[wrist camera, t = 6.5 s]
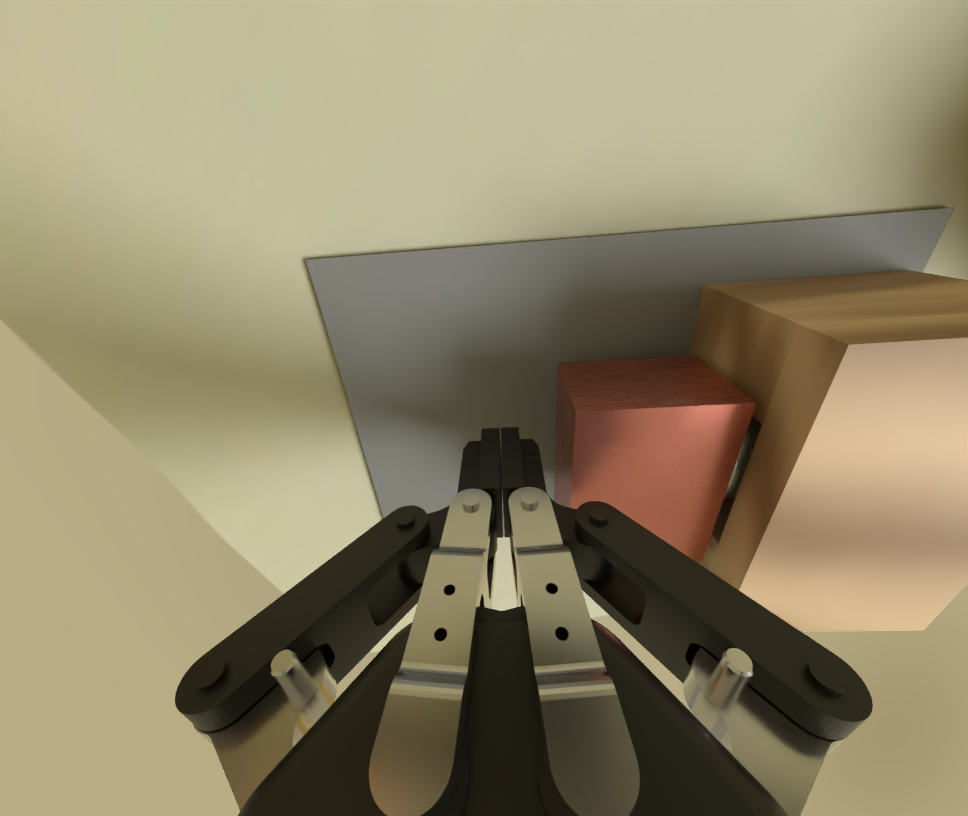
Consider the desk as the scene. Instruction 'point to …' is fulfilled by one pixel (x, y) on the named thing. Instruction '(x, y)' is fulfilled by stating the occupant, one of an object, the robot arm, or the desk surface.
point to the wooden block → (845, 446)
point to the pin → (653, 443)
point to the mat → (548, 325)
